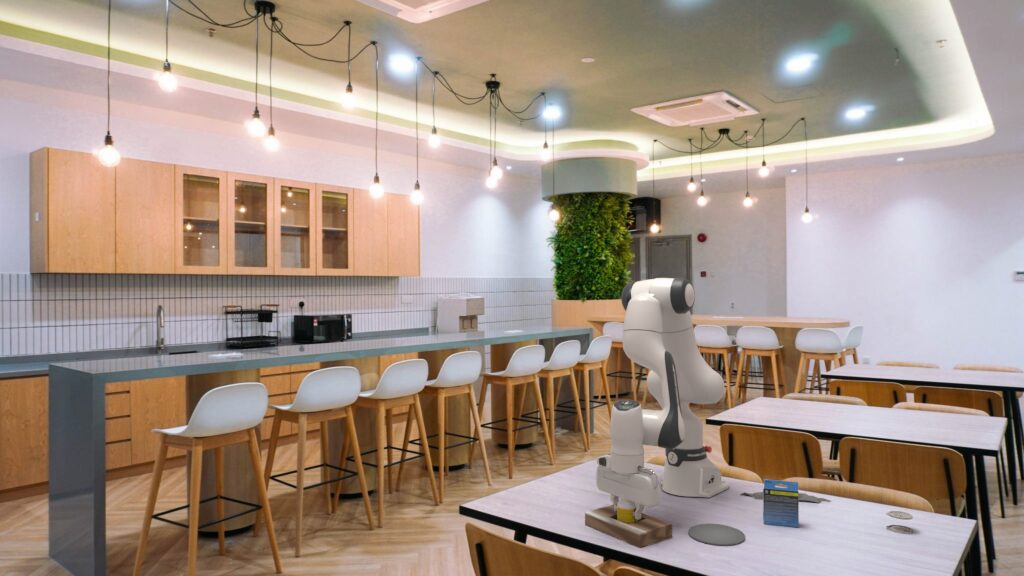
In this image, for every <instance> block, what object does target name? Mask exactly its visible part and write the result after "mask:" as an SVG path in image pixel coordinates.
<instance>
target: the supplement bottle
mask: <svg viewBox="0 0 1024 576" xmlns="http://www.w3.org/2000/svg"><path fill="white" fill-rule="evenodd" d="M636 509H637V507H636V506H635V502H632V501H629V500H626V499H625V497H624V495H621V496H620V497H619V502H618V503H617V520H618V521H620V522H623V523H625V524H631V523H634V522H638V520H637V519H634V518H633V512H634V511H636Z"/></svg>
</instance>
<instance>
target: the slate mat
mask: <svg viewBox="0 0 1024 576" xmlns="http://www.w3.org/2000/svg"><path fill="white" fill-rule="evenodd" d="M688 536H689V537H690V539H691V538H692V540H695V541H697V542H699V543H702V544H705V545H710V546H716V547H717V546H718V547H730V546H731V547H733V546H738V545H740V544H742V543H744V542H745V541H746V540H745V539H746V535H745V533H744V531H741V530H740V529H738V528H736V527H733V526H729V525H727V524H726V525H725V524H721V523H700V524H694V525H692V526H691V527H689V528H688Z"/></svg>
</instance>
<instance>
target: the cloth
mask: <svg viewBox="0 0 1024 576" xmlns="http://www.w3.org/2000/svg"><path fill="white" fill-rule="evenodd" d="M739 495H740V496H749V497H751V498H754V499H755V500H762V501H763V491H759V492H757V491H756V492H753V493H750V492H741V494H739ZM799 501H803V502H807V503H817V504H821V503H823V502H829V503H830V502H832V500H831V499H827V498H824V497H818V496H815V495H810V494H807V493H806V492H804V493H802V492H799Z"/></svg>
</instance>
